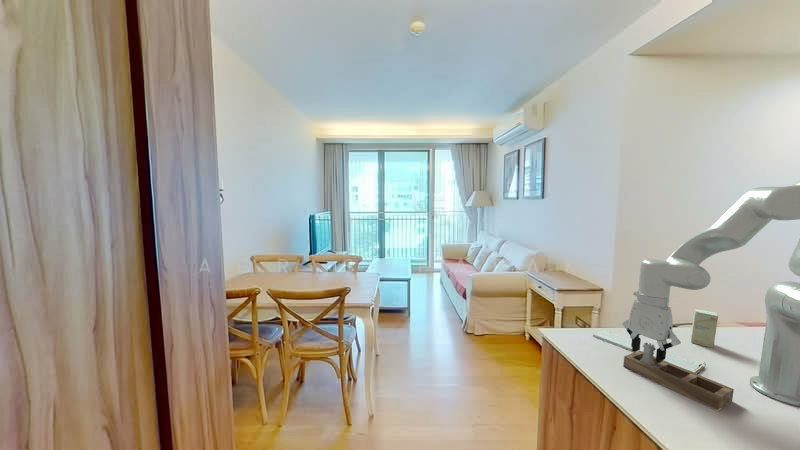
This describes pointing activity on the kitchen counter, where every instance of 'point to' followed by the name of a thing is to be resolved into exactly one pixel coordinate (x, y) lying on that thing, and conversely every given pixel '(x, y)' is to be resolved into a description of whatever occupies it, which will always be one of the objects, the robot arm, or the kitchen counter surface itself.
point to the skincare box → (704, 327)
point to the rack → (681, 381)
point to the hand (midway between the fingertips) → (647, 354)
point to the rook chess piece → (648, 354)
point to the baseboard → (627, 343)
